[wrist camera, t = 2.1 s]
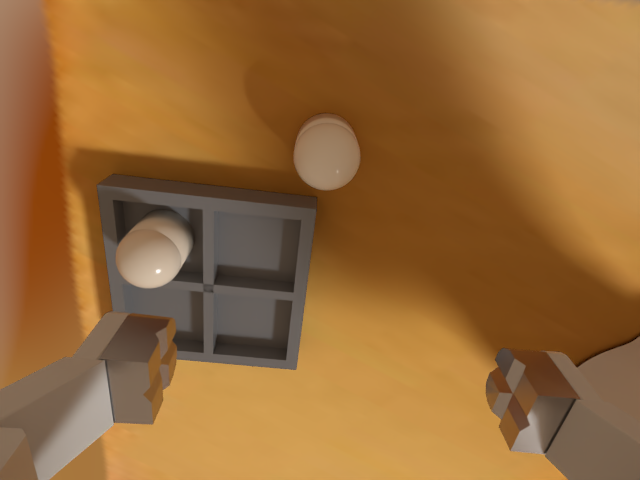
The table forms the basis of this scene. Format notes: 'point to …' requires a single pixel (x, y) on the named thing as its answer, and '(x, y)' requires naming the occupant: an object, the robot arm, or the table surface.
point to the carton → (220, 267)
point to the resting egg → (155, 249)
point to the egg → (326, 152)
